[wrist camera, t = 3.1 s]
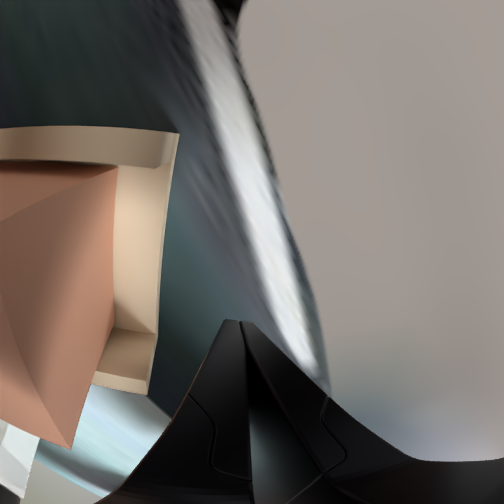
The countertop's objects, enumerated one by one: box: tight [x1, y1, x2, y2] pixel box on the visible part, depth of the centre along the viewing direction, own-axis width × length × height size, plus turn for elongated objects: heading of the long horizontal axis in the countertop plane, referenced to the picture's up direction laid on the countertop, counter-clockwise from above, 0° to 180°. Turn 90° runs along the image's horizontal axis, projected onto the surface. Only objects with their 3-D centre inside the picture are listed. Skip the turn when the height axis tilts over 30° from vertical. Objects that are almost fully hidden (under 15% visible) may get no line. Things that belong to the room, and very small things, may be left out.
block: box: [0, 161, 118, 449], centre depth 6 cm, size 7×7×7 cm
